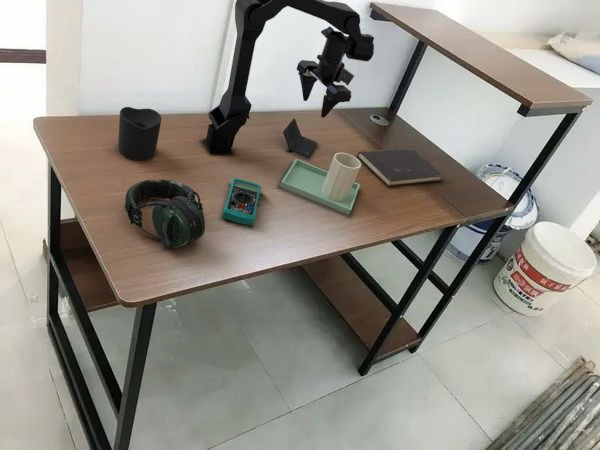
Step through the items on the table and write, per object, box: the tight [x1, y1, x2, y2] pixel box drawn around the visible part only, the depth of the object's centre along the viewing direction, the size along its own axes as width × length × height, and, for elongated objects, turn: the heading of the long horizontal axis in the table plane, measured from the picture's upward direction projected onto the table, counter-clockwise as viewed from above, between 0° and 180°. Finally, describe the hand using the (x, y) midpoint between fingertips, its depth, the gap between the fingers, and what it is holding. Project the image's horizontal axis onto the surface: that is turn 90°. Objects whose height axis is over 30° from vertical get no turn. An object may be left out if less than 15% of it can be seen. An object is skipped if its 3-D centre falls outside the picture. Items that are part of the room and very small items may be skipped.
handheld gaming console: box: [282, 118, 318, 159], centre depth 152 cm, size 12×7×10 cm
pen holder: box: [117, 106, 163, 161], centre depth 124 cm, size 9×9×10 cm
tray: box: [279, 158, 361, 216], centre depth 138 cm, size 19×14×2 cm
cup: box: [321, 152, 362, 202], centre depth 135 cm, size 7×7×10 cm
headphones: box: [124, 178, 206, 249], centre depth 107 cm, size 13×13×20 cm
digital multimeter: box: [221, 177, 262, 226], centre depth 121 cm, size 7×15×3 cm, turn 177°
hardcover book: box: [357, 148, 444, 188], centre depth 161 cm, size 16×23×2 cm
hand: (313, 108), depth 144 cm, fingers open, 9 cm apart
